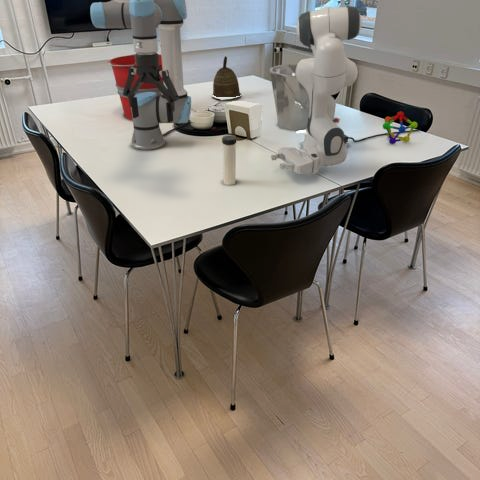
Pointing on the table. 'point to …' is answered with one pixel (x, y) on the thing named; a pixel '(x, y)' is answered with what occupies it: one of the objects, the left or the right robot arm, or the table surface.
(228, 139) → the lid
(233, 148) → the jar
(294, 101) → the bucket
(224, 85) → the bell
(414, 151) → the table surface
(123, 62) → the bucket
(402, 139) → the educational toy
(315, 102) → the right robot arm
